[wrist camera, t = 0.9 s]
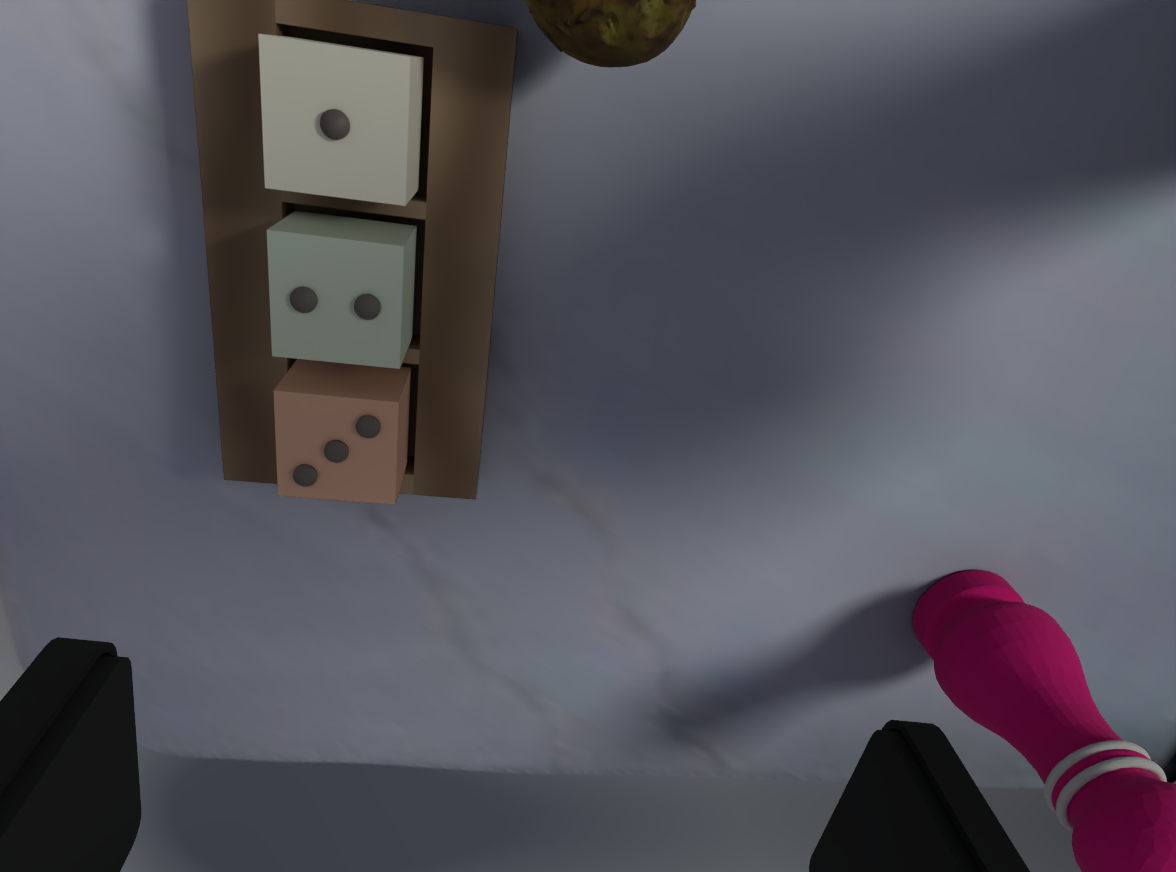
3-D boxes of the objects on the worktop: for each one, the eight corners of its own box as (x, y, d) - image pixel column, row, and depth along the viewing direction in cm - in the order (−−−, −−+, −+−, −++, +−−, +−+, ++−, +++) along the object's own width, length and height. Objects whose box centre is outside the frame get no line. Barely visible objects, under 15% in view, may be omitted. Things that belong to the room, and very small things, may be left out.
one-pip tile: (423, 57, 30) (409, 56, 26) (418, 189, 32) (404, 206, 28) (290, 36, 29) (256, 33, 25) (294, 173, 31) (263, 188, 27)
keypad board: (517, 30, 31) (517, 27, 29) (478, 477, 40) (476, 499, 38) (207, -20, 29) (185, -26, 27) (239, 458, 38) (224, 479, 36)
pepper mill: (979, 664, 49) (1243, 1012, 31) (882, 642, 47) (1101, 994, 30) (1042, 576, 46) (1372, 903, 28) (940, 549, 45) (1222, 877, 27)
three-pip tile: (411, 367, 35) (397, 404, 31) (407, 462, 37) (394, 507, 34) (299, 356, 35) (272, 392, 31) (301, 453, 37) (276, 498, 33)
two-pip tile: (416, 225, 32) (403, 247, 29) (412, 337, 35) (399, 370, 31) (295, 210, 32) (265, 230, 28) (298, 324, 34) (270, 357, 30)
